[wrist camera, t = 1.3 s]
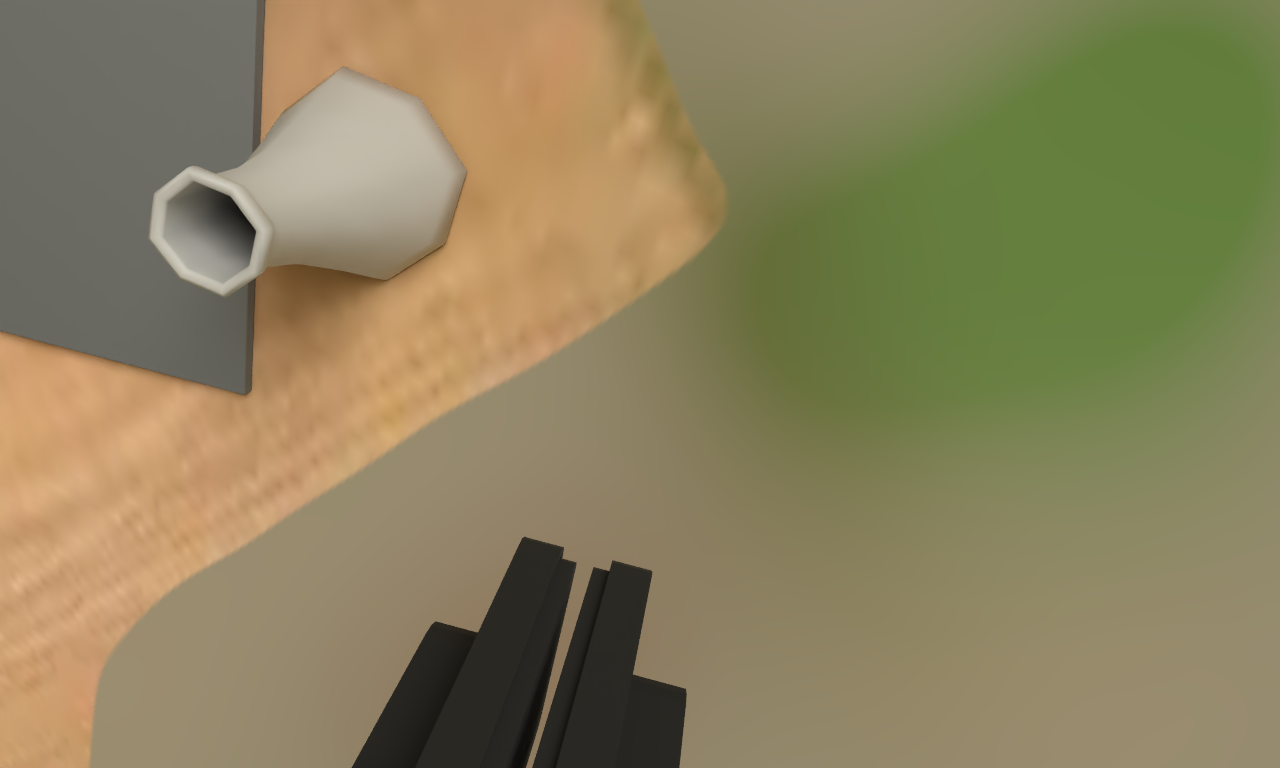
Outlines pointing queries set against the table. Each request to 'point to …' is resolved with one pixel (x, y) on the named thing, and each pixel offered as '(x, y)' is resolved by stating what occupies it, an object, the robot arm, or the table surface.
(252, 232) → the flask
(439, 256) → the table surface
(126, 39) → the mat
